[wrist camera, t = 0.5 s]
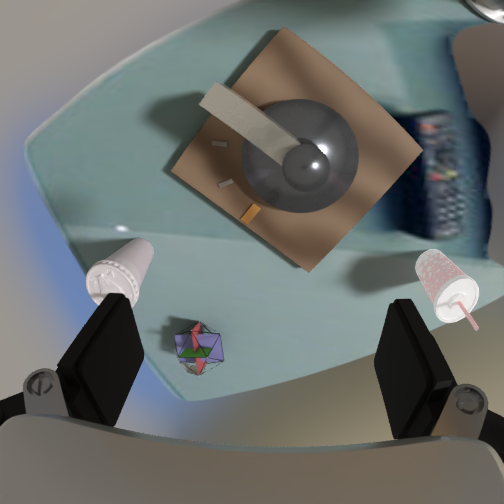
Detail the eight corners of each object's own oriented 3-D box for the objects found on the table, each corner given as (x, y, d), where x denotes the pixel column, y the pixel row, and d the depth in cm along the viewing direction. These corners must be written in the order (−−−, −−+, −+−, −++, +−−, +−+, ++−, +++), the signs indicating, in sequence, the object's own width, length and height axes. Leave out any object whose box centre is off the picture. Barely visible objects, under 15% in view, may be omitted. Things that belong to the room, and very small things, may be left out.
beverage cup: (401, 271, 39) (442, 340, 27) (429, 235, 37) (483, 294, 24) (429, 290, 40) (470, 357, 28) (456, 257, 38) (507, 317, 25)
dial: (377, 150, 31) (402, 164, 25) (306, 229, 36) (312, 260, 29) (255, 50, 28) (250, 36, 21) (186, 139, 32) (164, 149, 26)
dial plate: (283, 29, 28) (283, 26, 26) (417, 148, 32) (423, 150, 31) (174, 168, 36) (170, 171, 34) (307, 266, 40) (308, 273, 38)
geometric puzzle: (167, 315, 42) (165, 373, 39) (216, 313, 41) (216, 373, 38) (185, 327, 49) (184, 377, 45) (228, 325, 48) (228, 378, 44)
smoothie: (135, 278, 43) (91, 344, 30) (110, 239, 40) (55, 297, 28) (172, 262, 41) (132, 331, 29) (146, 220, 39) (93, 277, 26)
